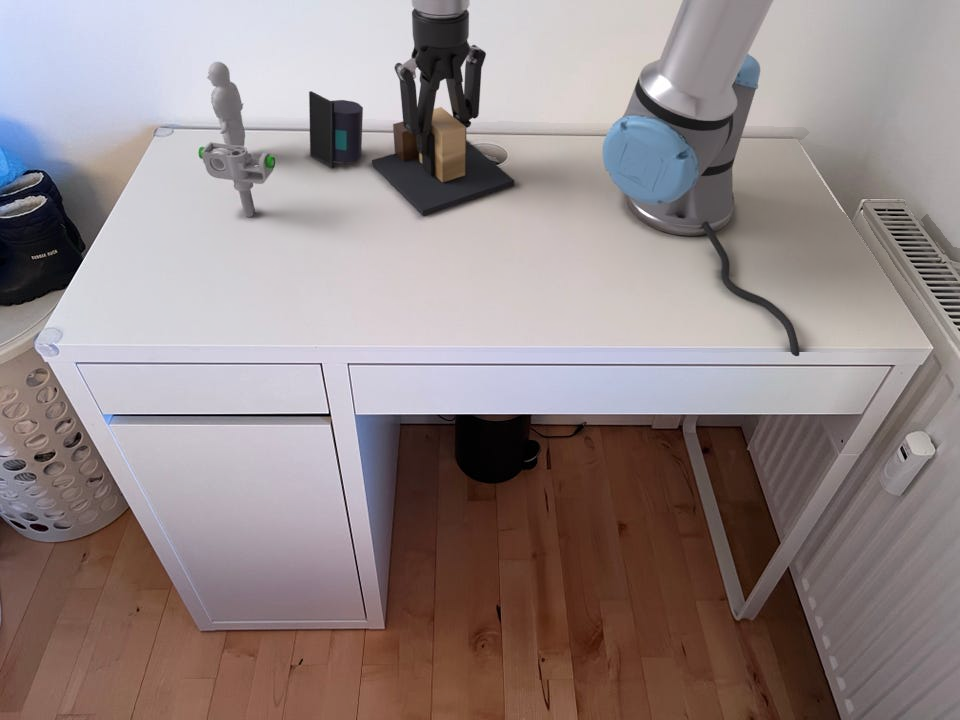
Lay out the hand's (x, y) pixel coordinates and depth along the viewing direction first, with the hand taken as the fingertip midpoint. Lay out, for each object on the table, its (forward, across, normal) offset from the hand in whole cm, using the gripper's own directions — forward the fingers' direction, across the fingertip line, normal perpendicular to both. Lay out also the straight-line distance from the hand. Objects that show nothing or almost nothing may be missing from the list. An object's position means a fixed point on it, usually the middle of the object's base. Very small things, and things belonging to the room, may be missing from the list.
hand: (442, 166), depth 114 cm
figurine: (+2, +25, -21) cm, 33 cm away
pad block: (0, 0, 0) cm, 0 cm away
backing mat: (+2, 0, 0) cm, 2 cm away
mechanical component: (+2, +29, -5) cm, 29 cm away
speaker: (+2, +11, -13) cm, 17 cm away
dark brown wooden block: (+1, 0, -6) cm, 7 cm away
